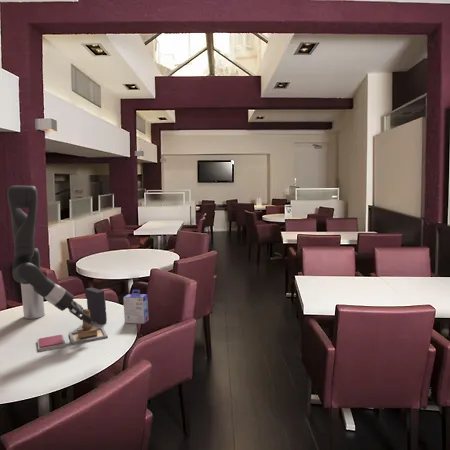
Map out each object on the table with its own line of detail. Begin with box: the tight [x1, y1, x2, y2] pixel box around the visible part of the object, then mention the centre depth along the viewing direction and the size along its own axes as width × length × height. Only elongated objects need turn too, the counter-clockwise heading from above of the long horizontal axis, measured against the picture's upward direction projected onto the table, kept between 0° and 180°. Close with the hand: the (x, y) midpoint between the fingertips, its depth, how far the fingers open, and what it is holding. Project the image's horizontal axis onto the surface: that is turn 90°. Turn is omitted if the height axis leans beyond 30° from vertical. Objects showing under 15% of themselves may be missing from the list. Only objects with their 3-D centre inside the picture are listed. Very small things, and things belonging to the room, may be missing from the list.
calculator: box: [84, 286, 108, 325], centre depth 199 cm, size 11×4×15 cm, turn 47°
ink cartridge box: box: [122, 289, 150, 325], centre depth 196 cm, size 10×6×14 cm, turn 78°
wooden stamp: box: [77, 308, 97, 340], centre depth 181 cm, size 5×7×12 cm
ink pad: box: [36, 334, 67, 352], centre depth 174 cm, size 11×10×2 cm
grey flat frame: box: [68, 326, 108, 345], centre depth 181 cm, size 12×14×1 cm
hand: (90, 319), depth 181 cm, fingers open, 8 cm apart
